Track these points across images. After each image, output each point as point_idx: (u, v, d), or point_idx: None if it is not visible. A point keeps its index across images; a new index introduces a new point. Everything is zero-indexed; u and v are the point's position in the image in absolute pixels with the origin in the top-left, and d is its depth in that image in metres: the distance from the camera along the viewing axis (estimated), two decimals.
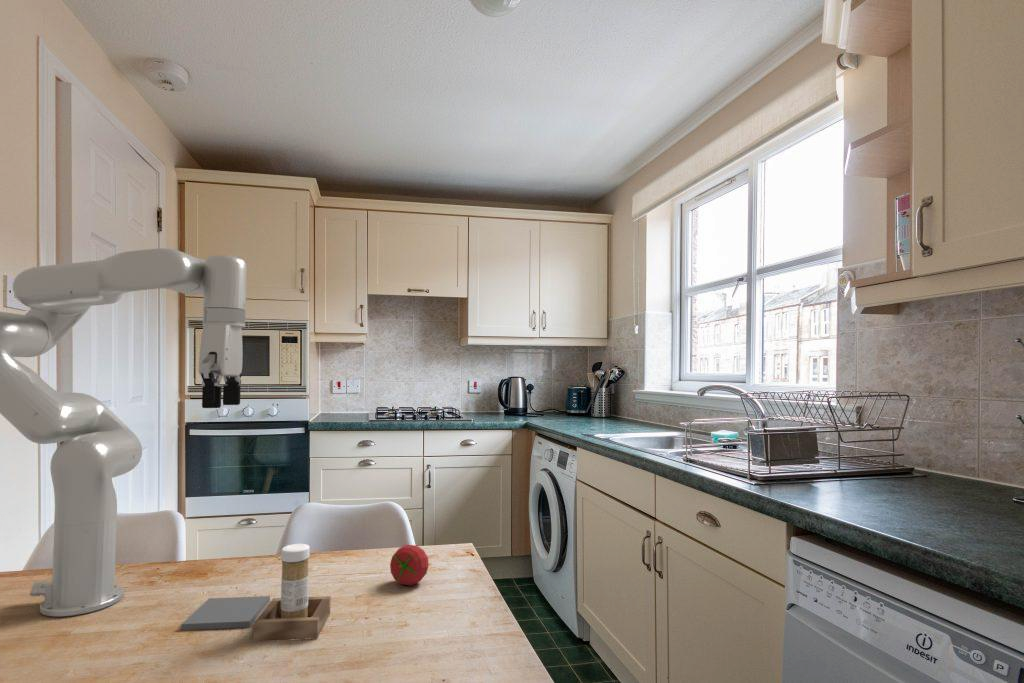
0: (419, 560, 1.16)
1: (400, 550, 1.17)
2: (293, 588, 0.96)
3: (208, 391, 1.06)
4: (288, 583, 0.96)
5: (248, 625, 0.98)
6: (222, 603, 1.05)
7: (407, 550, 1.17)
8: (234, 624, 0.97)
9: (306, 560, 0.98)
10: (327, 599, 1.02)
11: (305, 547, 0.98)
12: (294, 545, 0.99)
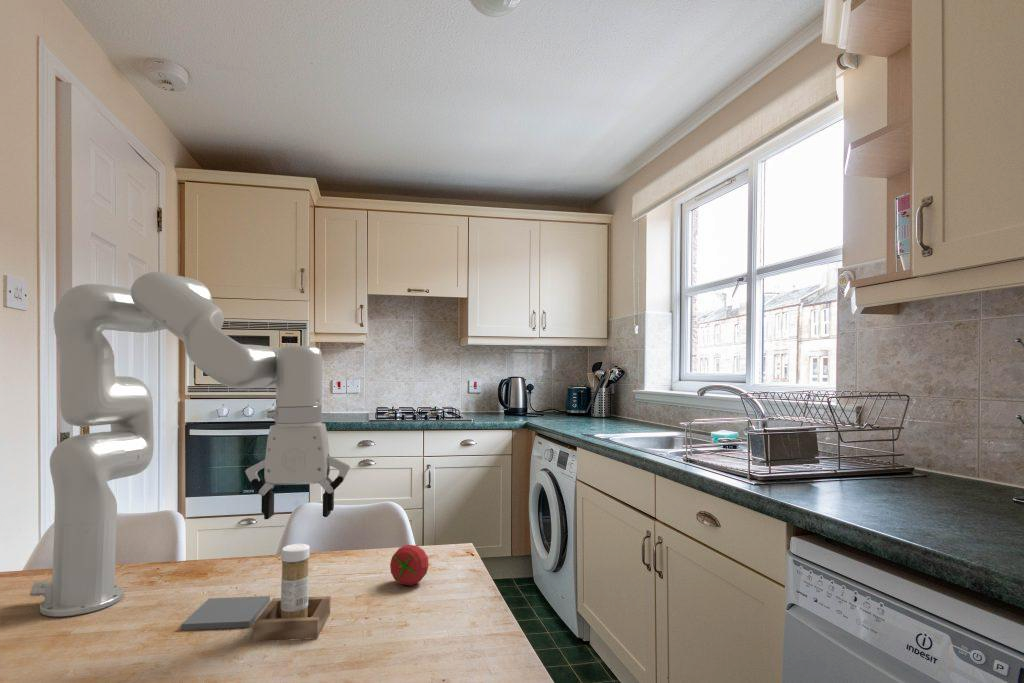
0: (419, 560, 1.16)
1: (400, 550, 1.17)
2: (293, 588, 0.96)
3: (332, 497, 0.99)
4: (288, 583, 0.96)
5: (248, 625, 0.98)
6: (222, 603, 1.05)
7: (407, 550, 1.17)
8: (234, 624, 0.97)
9: (306, 560, 0.98)
10: (327, 599, 1.02)
11: (305, 547, 0.98)
12: (294, 545, 0.99)
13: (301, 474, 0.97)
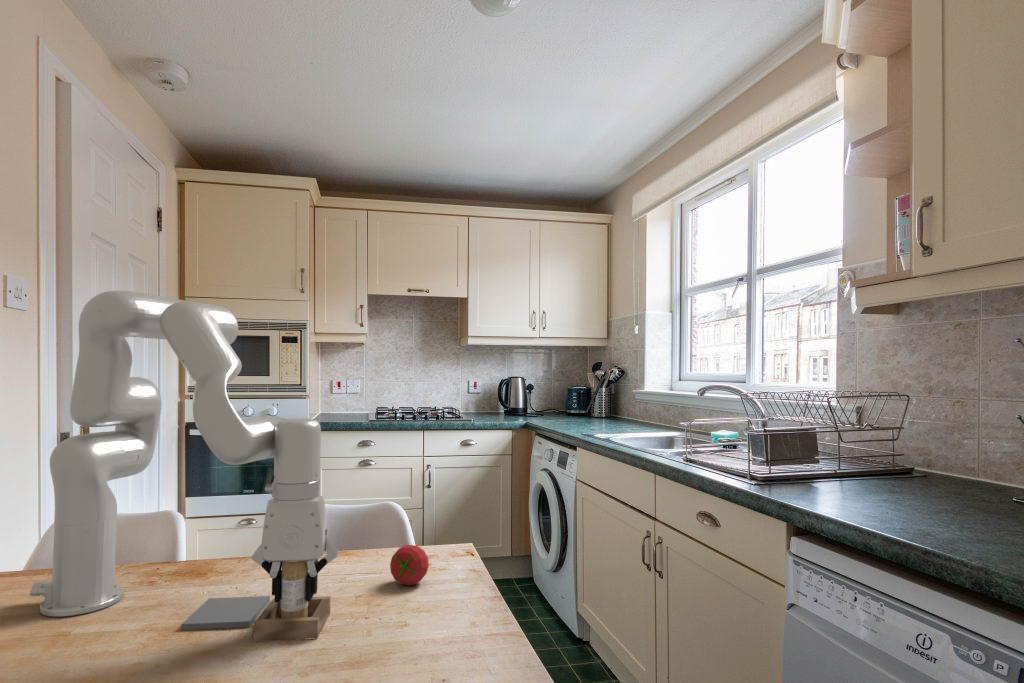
0: (419, 560, 1.16)
1: (400, 550, 1.17)
2: (293, 587, 0.96)
3: (316, 580, 0.98)
4: (288, 583, 0.96)
5: (248, 625, 0.98)
6: (222, 603, 1.05)
7: (407, 550, 1.17)
8: (234, 624, 0.97)
9: None
10: (327, 599, 1.02)
11: None
12: None
13: (298, 551, 0.96)
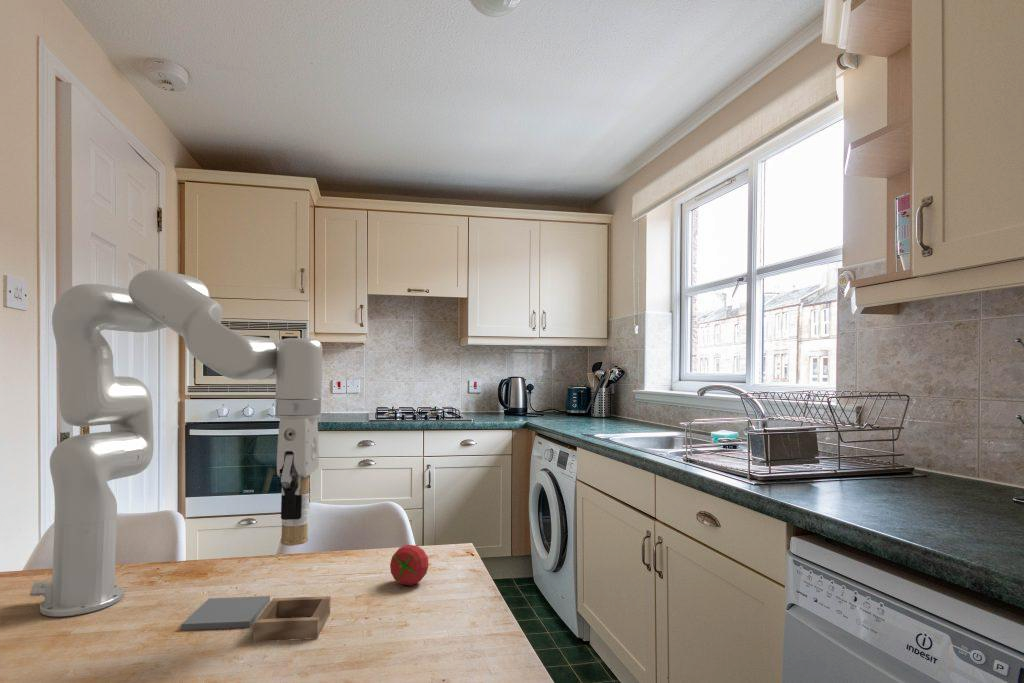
0: (419, 560, 1.16)
1: (400, 550, 1.17)
2: None
3: None
4: (307, 496, 0.99)
5: (248, 625, 0.98)
6: (222, 603, 1.05)
7: (407, 550, 1.17)
8: (234, 624, 0.97)
9: None
10: (327, 599, 1.02)
11: None
12: None
13: (315, 462, 1.01)
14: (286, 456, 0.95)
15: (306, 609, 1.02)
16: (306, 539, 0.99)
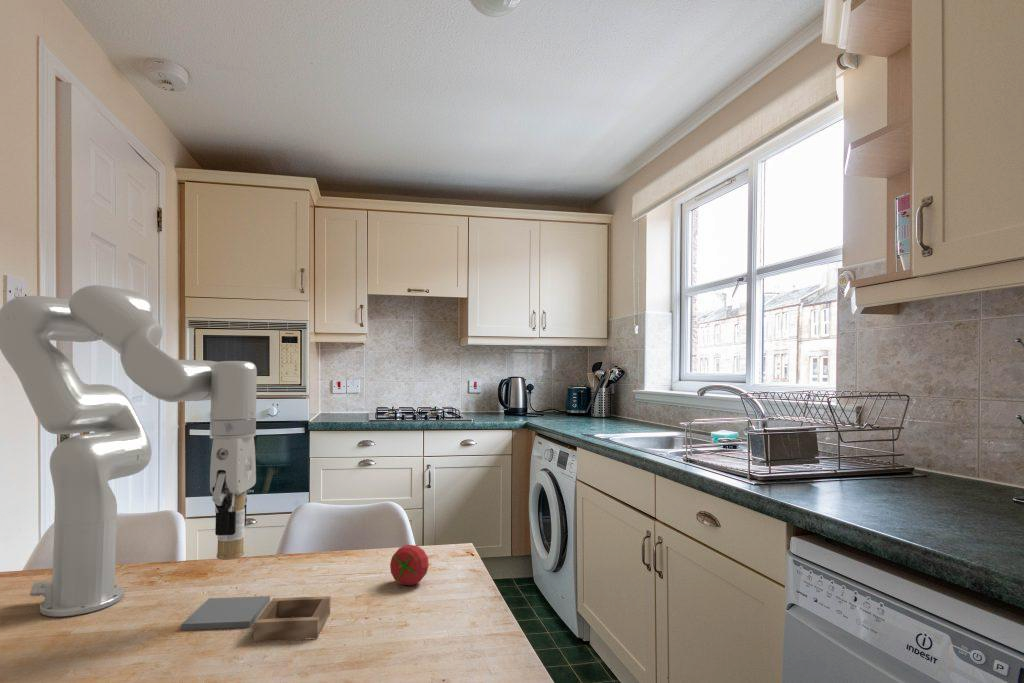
0: (419, 560, 1.16)
1: (400, 550, 1.17)
2: (244, 515, 1.04)
3: None
4: (242, 512, 1.03)
5: (248, 625, 0.98)
6: (222, 603, 1.05)
7: (407, 550, 1.17)
8: (234, 624, 0.97)
9: None
10: (327, 599, 1.02)
11: None
12: None
13: (250, 480, 1.05)
14: (219, 475, 0.99)
15: (306, 609, 1.02)
16: (241, 553, 1.03)
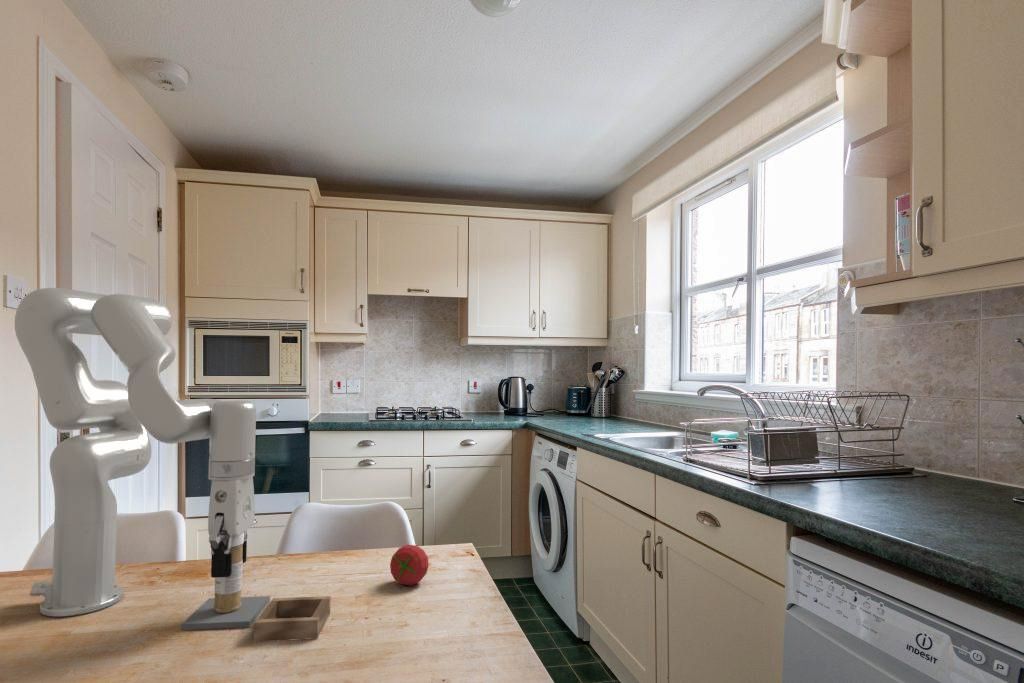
0: (419, 560, 1.16)
1: (400, 550, 1.17)
2: None
3: None
4: (240, 564, 1.03)
5: (248, 625, 0.98)
6: None
7: (407, 550, 1.17)
8: (234, 624, 0.97)
9: None
10: (327, 599, 1.02)
11: None
12: (224, 534, 1.03)
13: (249, 520, 1.05)
14: (217, 516, 0.99)
15: (306, 609, 1.02)
16: (238, 605, 1.03)
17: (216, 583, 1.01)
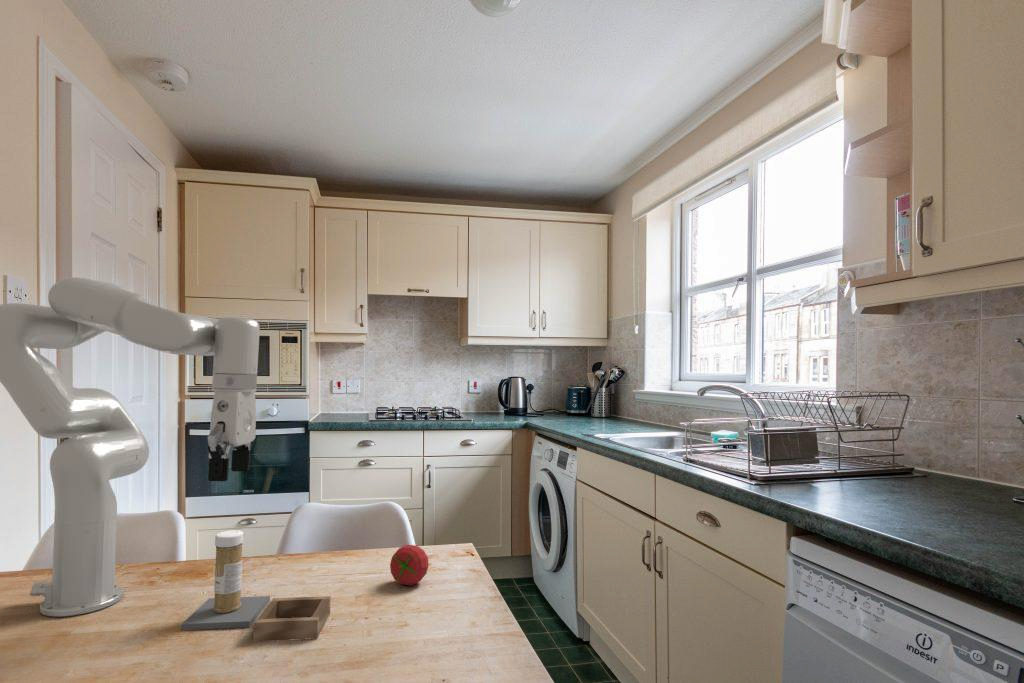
0: (419, 560, 1.16)
1: (400, 550, 1.17)
2: (241, 566, 1.04)
3: None
4: (239, 564, 1.03)
5: (248, 625, 0.98)
6: None
7: (407, 550, 1.17)
8: (234, 624, 0.97)
9: None
10: (327, 599, 1.02)
11: (236, 530, 1.05)
12: (223, 533, 1.03)
13: (249, 434, 1.08)
14: (218, 423, 1.02)
15: (306, 609, 1.02)
16: (238, 605, 1.03)
17: (216, 583, 1.01)
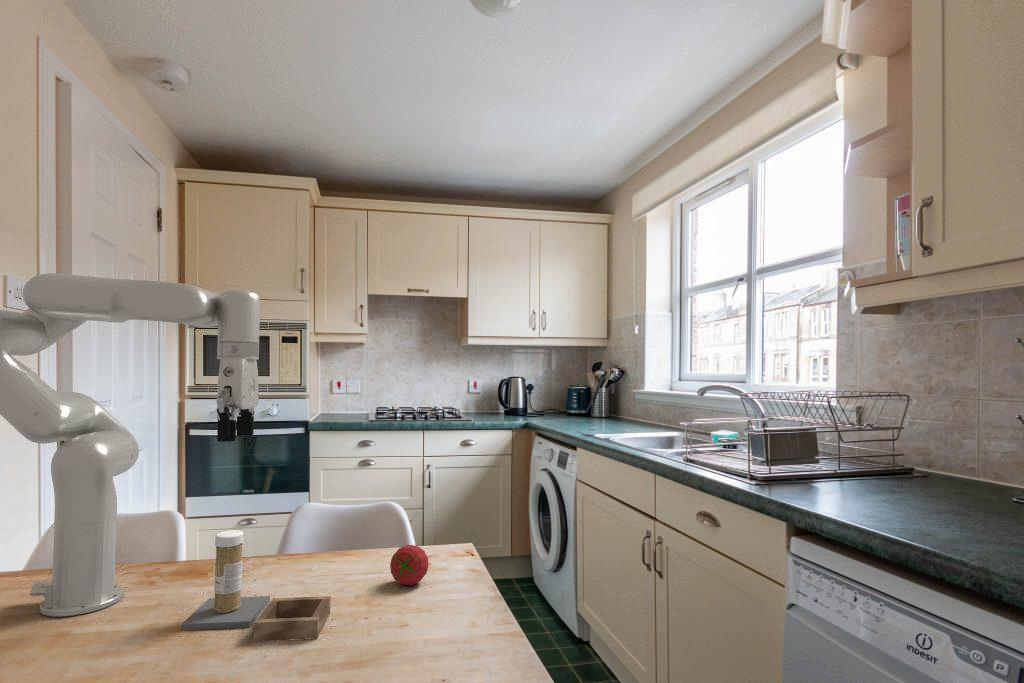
0: (419, 560, 1.16)
1: (400, 550, 1.17)
2: (241, 566, 1.04)
3: None
4: (239, 564, 1.03)
5: (248, 625, 0.98)
6: None
7: (407, 550, 1.17)
8: (234, 624, 0.97)
9: None
10: (327, 599, 1.02)
11: (236, 530, 1.05)
12: (223, 533, 1.03)
13: (254, 399, 1.16)
14: (225, 387, 1.09)
15: (306, 609, 1.02)
16: (238, 605, 1.03)
17: (216, 583, 1.01)
